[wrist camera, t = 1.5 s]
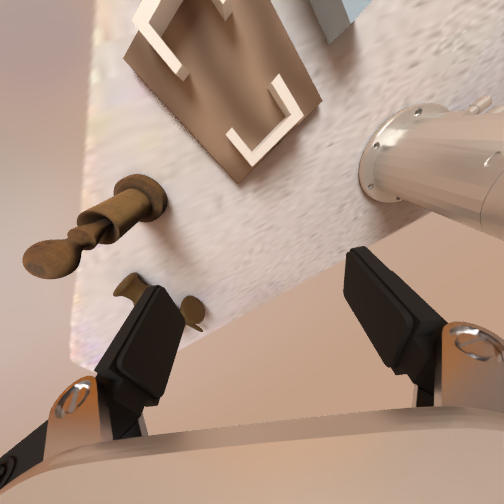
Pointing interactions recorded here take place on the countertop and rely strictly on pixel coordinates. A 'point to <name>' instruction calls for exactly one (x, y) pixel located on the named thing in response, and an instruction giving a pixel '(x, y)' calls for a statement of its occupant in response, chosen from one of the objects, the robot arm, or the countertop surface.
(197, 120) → the board
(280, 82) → the end caps
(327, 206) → the countertop surface
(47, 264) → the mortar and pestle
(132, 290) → the kendama
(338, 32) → the light blue rectangular block
